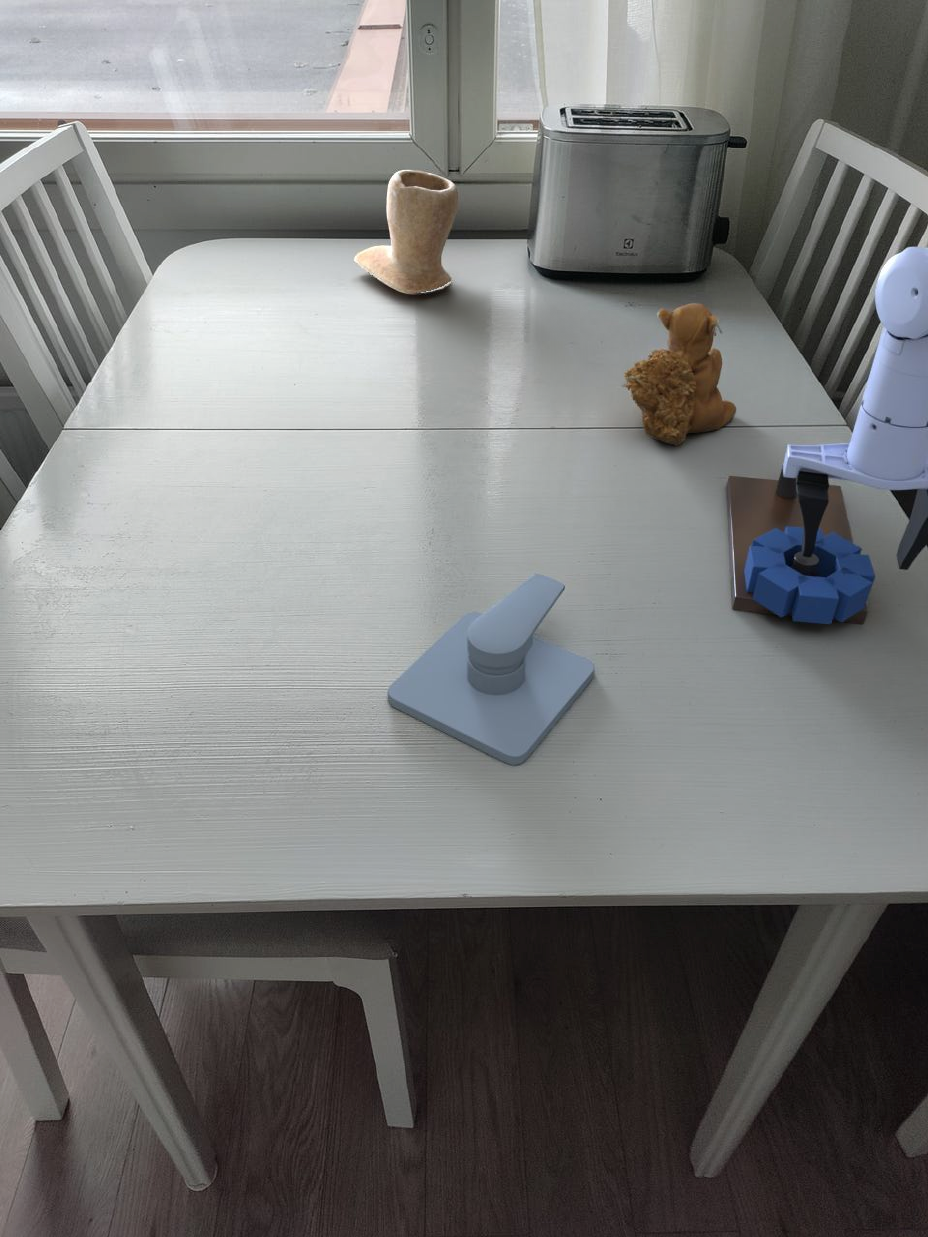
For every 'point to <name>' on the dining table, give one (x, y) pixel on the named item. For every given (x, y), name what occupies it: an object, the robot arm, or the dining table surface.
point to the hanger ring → (808, 596)
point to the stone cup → (414, 233)
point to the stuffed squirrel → (681, 378)
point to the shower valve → (496, 676)
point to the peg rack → (767, 508)
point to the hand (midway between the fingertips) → (853, 556)
